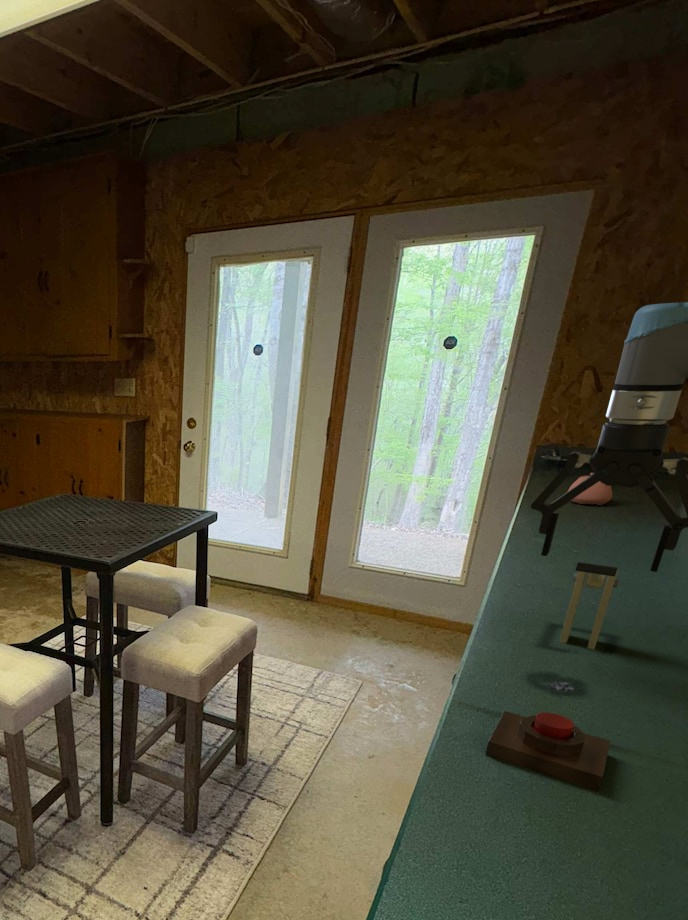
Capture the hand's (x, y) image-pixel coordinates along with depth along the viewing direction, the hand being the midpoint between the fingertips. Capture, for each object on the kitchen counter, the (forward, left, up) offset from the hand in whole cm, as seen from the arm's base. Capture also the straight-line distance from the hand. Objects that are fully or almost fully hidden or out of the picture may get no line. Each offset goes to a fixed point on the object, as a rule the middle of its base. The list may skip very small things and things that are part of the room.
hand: (597, 561), depth 98 cm
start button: (-1, +31, -15) cm, 35 cm away
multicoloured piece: (0, -5, -5) cm, 7 cm away
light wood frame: (0, -10, -19) cm, 21 cm away
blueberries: (0, +10, -19) cm, 21 cm away
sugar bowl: (+12, -149, -19) cm, 151 cm away
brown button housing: (-1, +31, -19) cm, 36 cm away
